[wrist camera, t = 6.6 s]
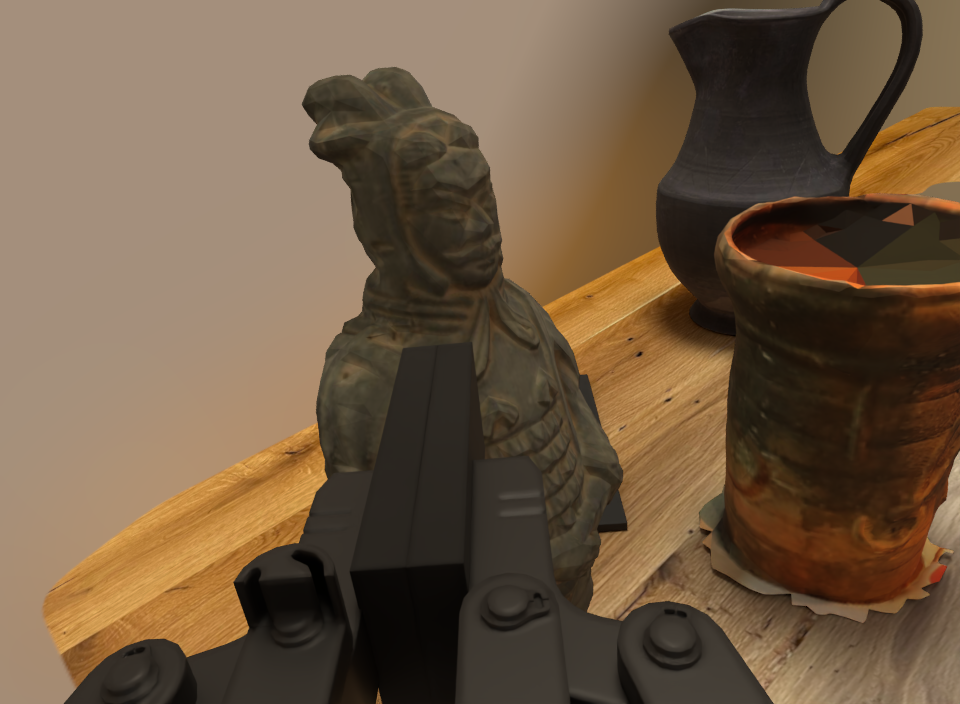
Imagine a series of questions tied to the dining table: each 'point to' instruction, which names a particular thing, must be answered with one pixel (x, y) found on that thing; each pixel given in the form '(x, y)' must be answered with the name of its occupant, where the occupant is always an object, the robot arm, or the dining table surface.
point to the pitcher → (755, 134)
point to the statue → (450, 307)
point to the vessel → (839, 398)
